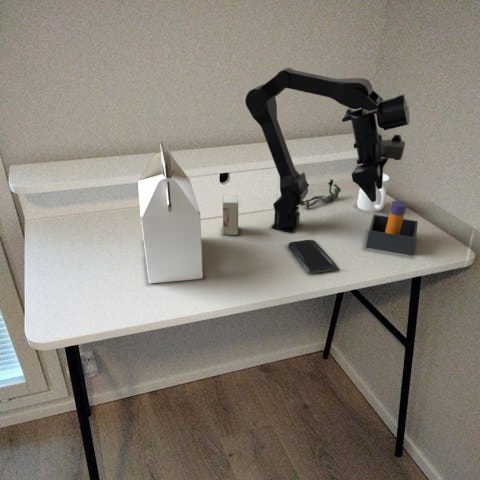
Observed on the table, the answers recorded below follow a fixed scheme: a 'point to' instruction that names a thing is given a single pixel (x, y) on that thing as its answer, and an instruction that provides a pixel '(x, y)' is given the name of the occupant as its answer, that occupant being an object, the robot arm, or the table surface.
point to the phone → (311, 256)
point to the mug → (380, 201)
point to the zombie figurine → (324, 198)
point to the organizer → (392, 236)
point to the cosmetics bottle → (230, 214)
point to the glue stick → (395, 217)
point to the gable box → (169, 221)
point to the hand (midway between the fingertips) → (377, 194)
